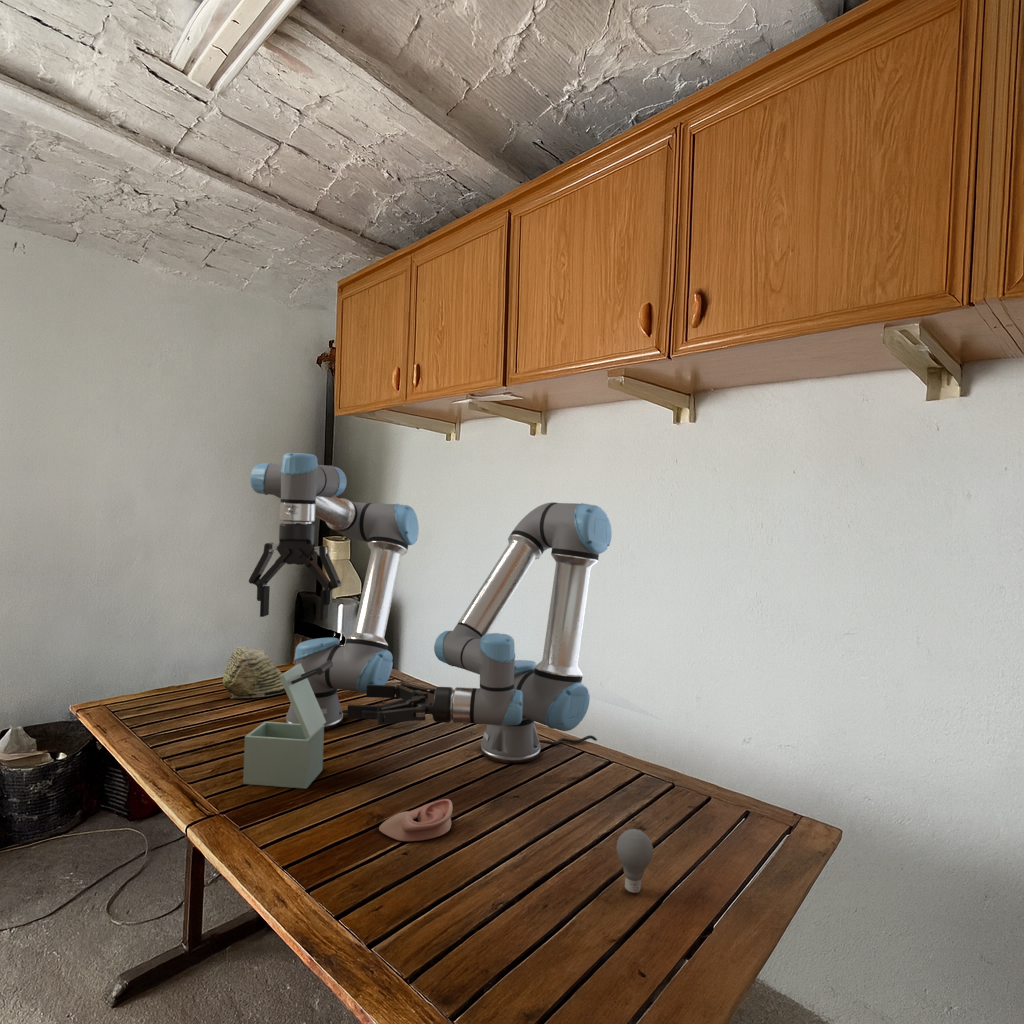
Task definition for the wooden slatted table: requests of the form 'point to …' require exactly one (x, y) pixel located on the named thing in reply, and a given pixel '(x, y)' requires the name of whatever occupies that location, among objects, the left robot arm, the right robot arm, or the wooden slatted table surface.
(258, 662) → the fossil
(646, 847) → the light bulb
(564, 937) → the wooden slatted table surface
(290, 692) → the lid
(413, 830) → the anatomical model
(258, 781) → the chest
